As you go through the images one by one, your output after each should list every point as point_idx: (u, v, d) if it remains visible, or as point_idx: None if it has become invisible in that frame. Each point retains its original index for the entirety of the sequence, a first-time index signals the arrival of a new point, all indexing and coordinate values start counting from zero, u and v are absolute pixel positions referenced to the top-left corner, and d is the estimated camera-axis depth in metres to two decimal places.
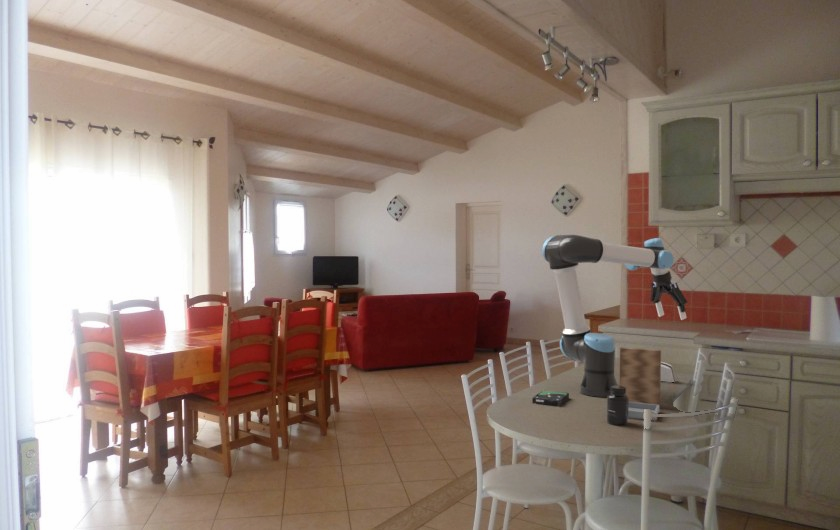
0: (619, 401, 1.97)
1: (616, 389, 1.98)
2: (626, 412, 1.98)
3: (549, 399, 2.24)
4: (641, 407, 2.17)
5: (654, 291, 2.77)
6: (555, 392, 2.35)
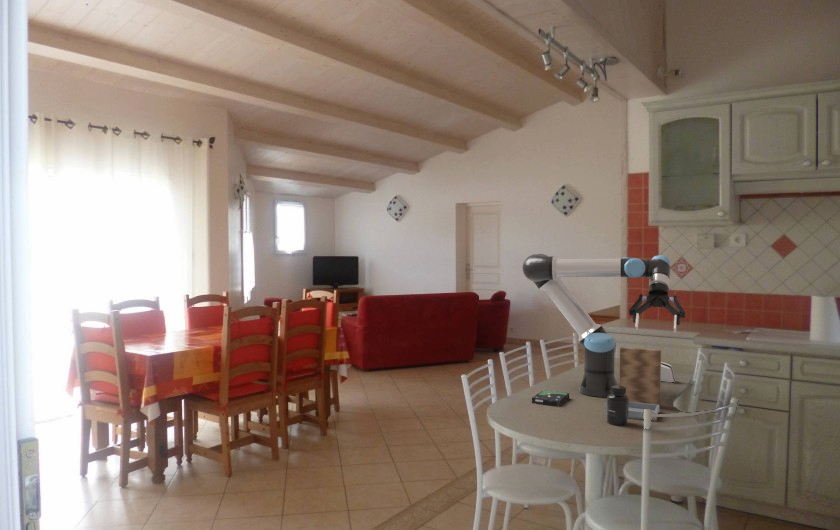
0: (619, 401, 1.97)
1: (616, 389, 1.98)
2: (626, 412, 1.98)
3: (548, 399, 2.24)
4: (641, 407, 2.17)
5: (638, 303, 2.39)
6: (555, 392, 2.35)
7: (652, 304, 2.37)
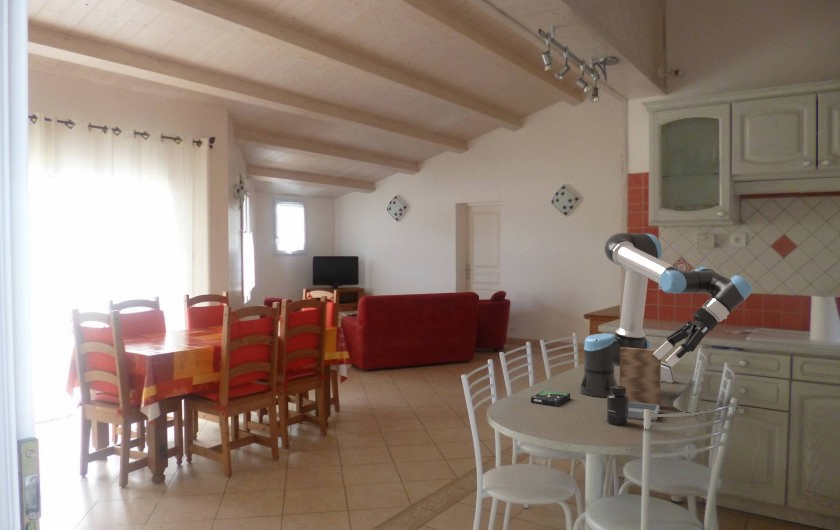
0: (619, 401, 1.97)
1: (616, 389, 1.98)
2: (626, 412, 1.98)
3: (547, 399, 2.24)
4: (641, 407, 2.17)
5: (681, 331, 2.05)
6: (556, 392, 2.35)
7: None
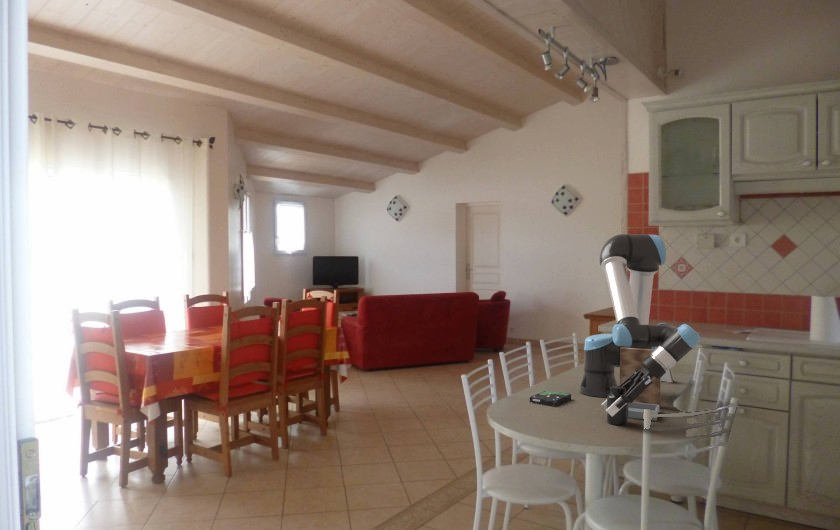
0: None
1: (616, 389, 1.98)
2: (626, 412, 1.98)
3: (545, 399, 2.25)
4: (641, 407, 2.17)
5: (630, 380, 2.05)
6: (557, 393, 2.34)
7: None
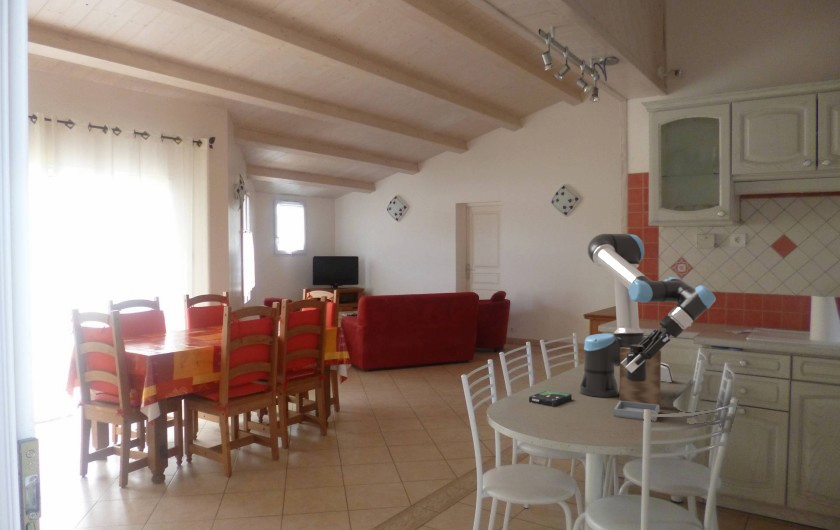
0: None
1: (635, 347, 2.09)
2: (645, 369, 2.09)
3: (545, 399, 2.25)
4: (641, 407, 2.17)
5: (648, 339, 2.16)
6: (558, 393, 2.34)
7: None
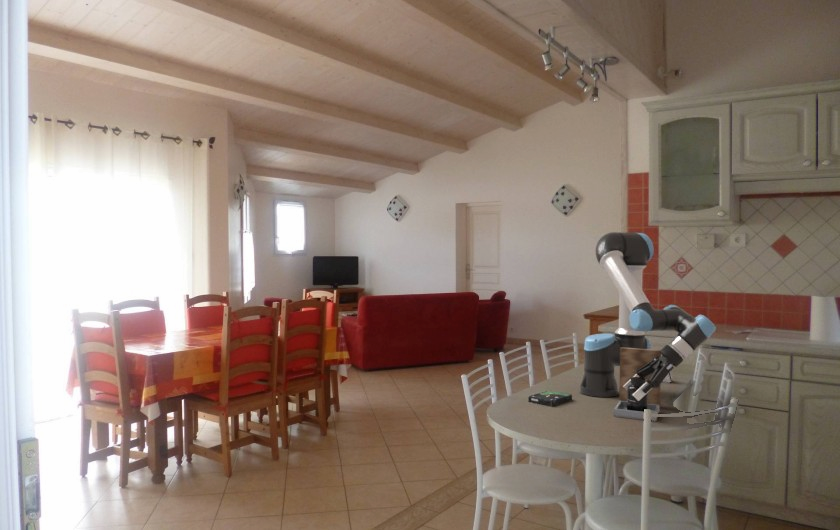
0: None
1: (636, 380, 2.10)
2: (646, 402, 2.10)
3: (543, 399, 2.25)
4: None
5: (649, 365, 2.18)
6: (559, 393, 2.34)
7: None
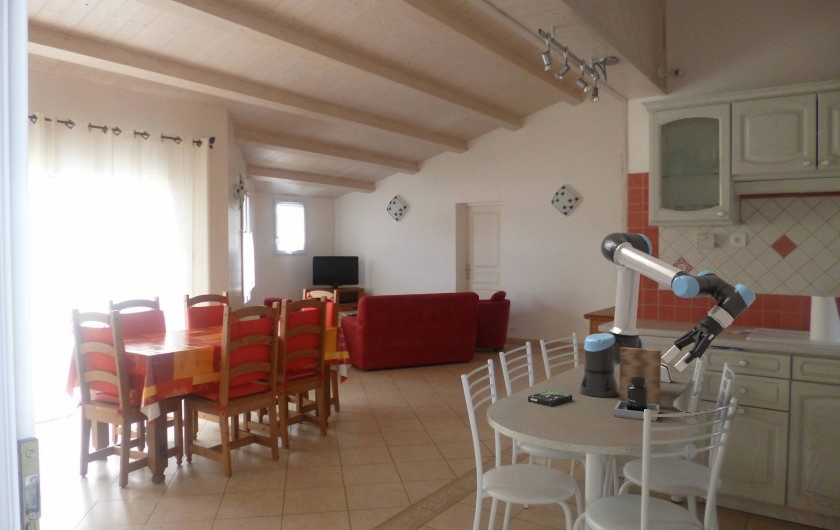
0: (639, 391, 2.09)
1: (636, 380, 2.10)
2: (646, 402, 2.10)
3: (543, 399, 2.25)
4: None
5: (687, 336, 2.17)
6: (559, 393, 2.34)
7: None
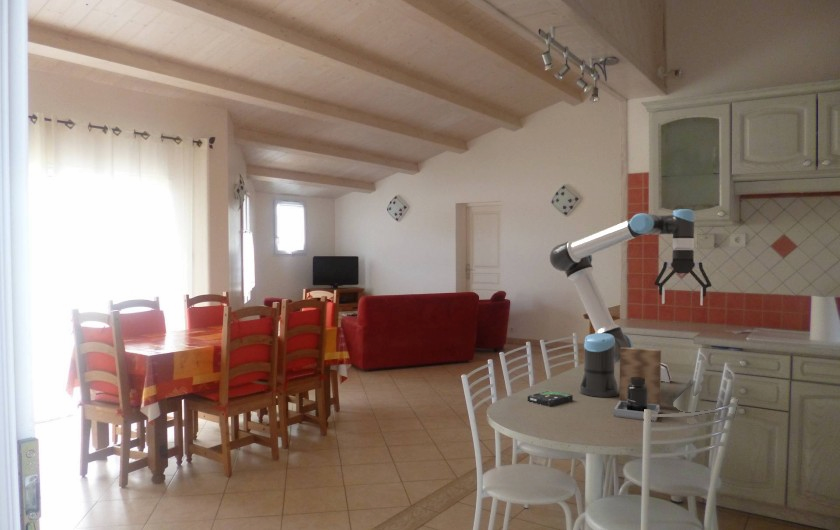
0: (639, 391, 2.09)
1: (636, 380, 2.10)
2: (646, 402, 2.10)
3: (542, 399, 2.25)
4: None
5: (663, 272, 2.37)
6: (559, 393, 2.34)
7: None
